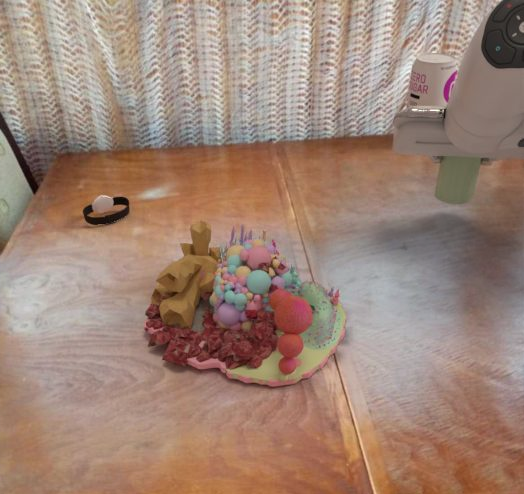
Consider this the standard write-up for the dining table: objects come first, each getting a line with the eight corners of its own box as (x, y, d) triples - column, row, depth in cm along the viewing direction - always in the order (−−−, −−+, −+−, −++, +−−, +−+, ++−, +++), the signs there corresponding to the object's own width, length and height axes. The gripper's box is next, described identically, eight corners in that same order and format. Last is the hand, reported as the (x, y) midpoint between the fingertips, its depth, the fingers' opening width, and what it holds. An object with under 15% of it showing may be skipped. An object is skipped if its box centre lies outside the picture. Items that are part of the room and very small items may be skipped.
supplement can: (449, 136, 109) (465, 54, 99) (435, 151, 104) (451, 65, 94) (410, 130, 112) (422, 50, 102) (395, 143, 107) (406, 60, 97)
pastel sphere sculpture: (114, 362, 62) (94, 297, 56) (188, 255, 79) (179, 196, 73) (329, 399, 56) (333, 331, 50) (359, 276, 73) (365, 214, 67)
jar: (470, 188, 83) (486, 122, 76) (474, 205, 79) (490, 136, 72) (433, 187, 84) (445, 121, 77) (435, 203, 80) (448, 135, 73)
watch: (125, 206, 91) (120, 185, 89) (136, 216, 88) (132, 196, 86) (81, 219, 88) (75, 199, 86) (91, 231, 85) (86, 210, 83)
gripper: (392, 135, 66) (385, 177, 80) (571, 141, 63) (532, 184, 76) (397, 85, 66) (389, 135, 80) (576, 88, 63) (536, 140, 76)
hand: (460, 159), depth 78 cm, fingers closed on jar, 5 cm apart
